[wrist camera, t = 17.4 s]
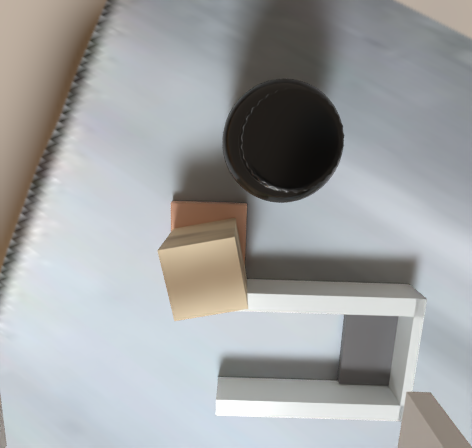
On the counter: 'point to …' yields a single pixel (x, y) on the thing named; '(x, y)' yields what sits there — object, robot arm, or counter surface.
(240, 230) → the tile
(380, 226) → the counter surface
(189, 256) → the block
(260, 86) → the supplement bottle
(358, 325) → the channel
